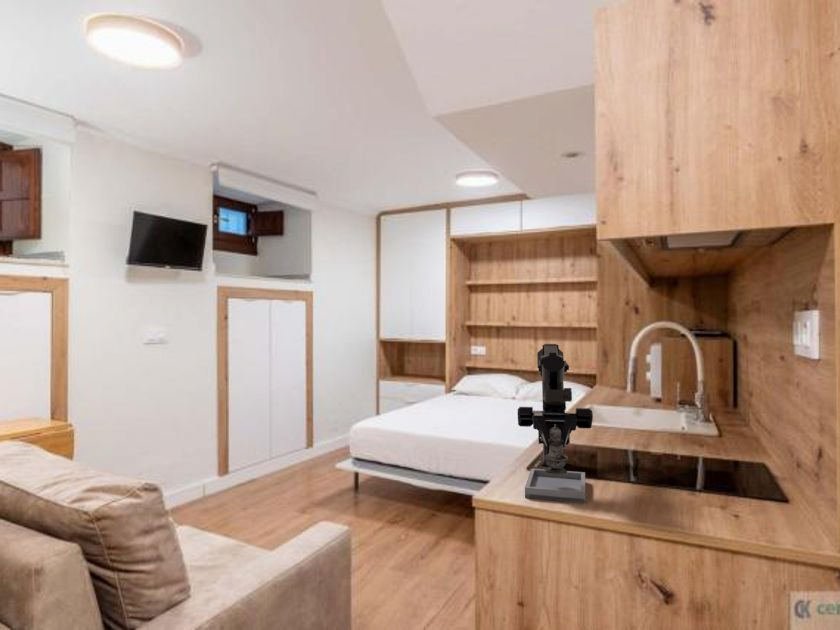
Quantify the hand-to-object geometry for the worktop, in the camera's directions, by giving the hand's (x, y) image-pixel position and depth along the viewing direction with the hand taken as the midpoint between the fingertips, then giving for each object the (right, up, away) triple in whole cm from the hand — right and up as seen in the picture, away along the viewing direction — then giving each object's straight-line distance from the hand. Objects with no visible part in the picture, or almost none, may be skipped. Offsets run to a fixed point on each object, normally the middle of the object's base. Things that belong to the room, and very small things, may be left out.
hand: (555, 446), depth 127 cm
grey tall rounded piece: (0, -7, +1) cm, 7 cm away
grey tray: (+1, -12, +2) cm, 12 cm away
